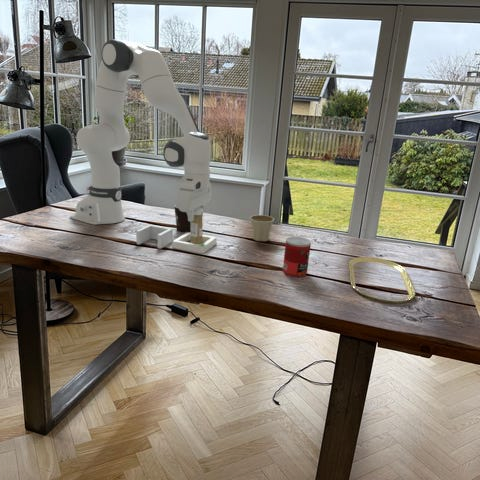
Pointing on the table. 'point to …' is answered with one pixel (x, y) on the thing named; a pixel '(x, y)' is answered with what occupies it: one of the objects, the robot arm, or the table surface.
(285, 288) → the table surface
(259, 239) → the flower pot
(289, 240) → the canned food
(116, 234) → the table surface
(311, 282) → the table surface
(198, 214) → the sprinkles bottle
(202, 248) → the block
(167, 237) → the bracket
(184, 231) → the dark brown cup
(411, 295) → the gold ring
